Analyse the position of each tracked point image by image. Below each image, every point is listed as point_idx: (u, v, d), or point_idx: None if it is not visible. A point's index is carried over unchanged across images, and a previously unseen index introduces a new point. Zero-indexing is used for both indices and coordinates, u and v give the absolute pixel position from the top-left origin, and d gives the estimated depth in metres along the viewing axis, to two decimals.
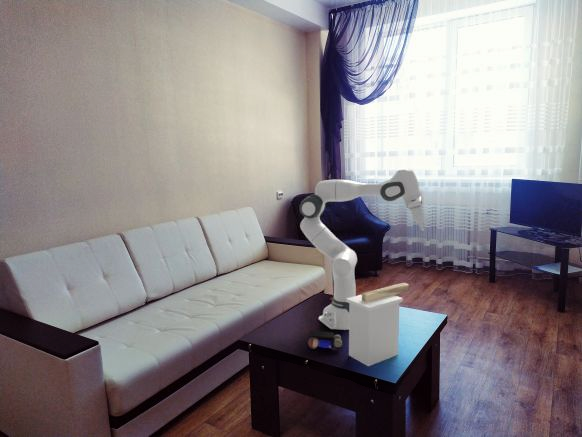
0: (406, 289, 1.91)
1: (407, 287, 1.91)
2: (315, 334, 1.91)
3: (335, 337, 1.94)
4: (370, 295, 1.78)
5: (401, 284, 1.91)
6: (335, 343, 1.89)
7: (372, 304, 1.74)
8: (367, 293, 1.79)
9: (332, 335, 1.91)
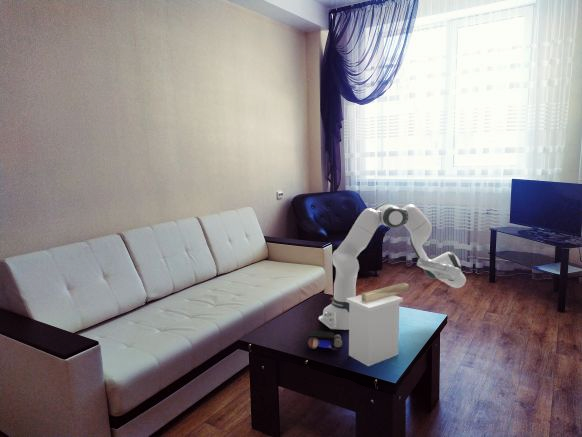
0: (406, 289, 1.91)
1: (407, 287, 1.91)
2: (315, 334, 1.91)
3: (335, 337, 1.94)
4: (370, 295, 1.78)
5: (401, 284, 1.91)
6: (335, 343, 1.89)
7: (372, 304, 1.74)
8: (367, 293, 1.79)
9: (332, 335, 1.91)
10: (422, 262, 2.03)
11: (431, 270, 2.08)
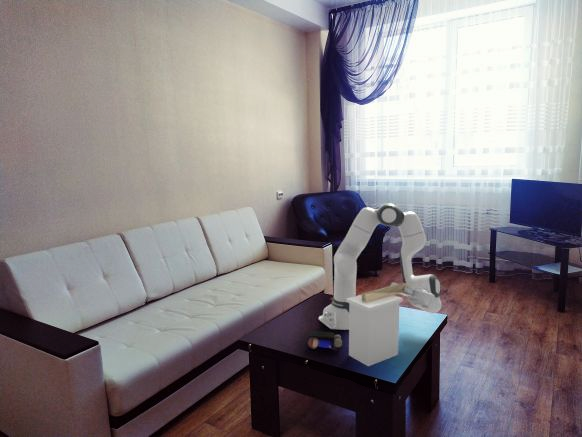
0: None
1: (407, 287, 1.91)
2: (315, 334, 1.91)
3: (335, 337, 1.94)
4: (370, 295, 1.78)
5: (401, 284, 1.91)
6: (335, 343, 1.89)
7: (372, 304, 1.74)
8: (367, 293, 1.79)
9: (332, 335, 1.91)
10: None
11: (404, 295, 1.99)
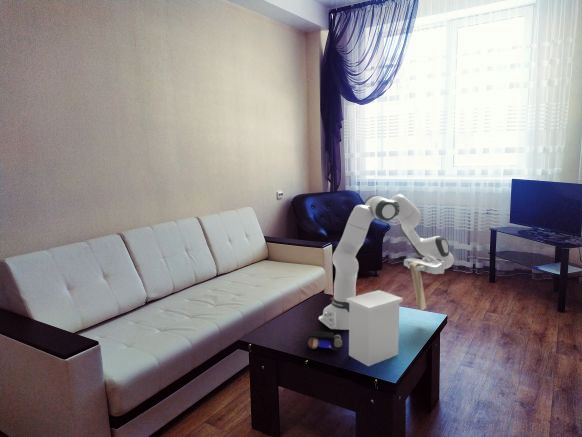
0: (418, 266, 2.10)
1: (416, 265, 2.10)
2: (315, 334, 1.91)
3: (335, 337, 1.94)
4: (422, 306, 2.16)
5: (413, 269, 2.11)
6: (335, 343, 1.89)
7: (372, 304, 1.74)
8: (419, 306, 2.17)
9: (332, 335, 1.91)
10: None
11: None
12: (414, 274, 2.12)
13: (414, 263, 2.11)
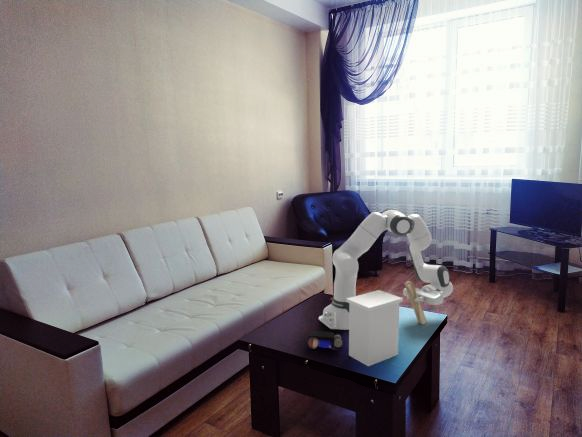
0: (412, 285, 2.10)
1: (411, 285, 2.09)
2: (315, 334, 1.91)
3: (335, 337, 1.94)
4: (422, 320, 2.17)
5: (407, 289, 2.11)
6: (335, 343, 1.89)
7: (372, 304, 1.74)
8: (419, 321, 2.19)
9: (332, 335, 1.91)
10: None
11: None
12: (409, 293, 2.11)
13: (408, 282, 2.10)
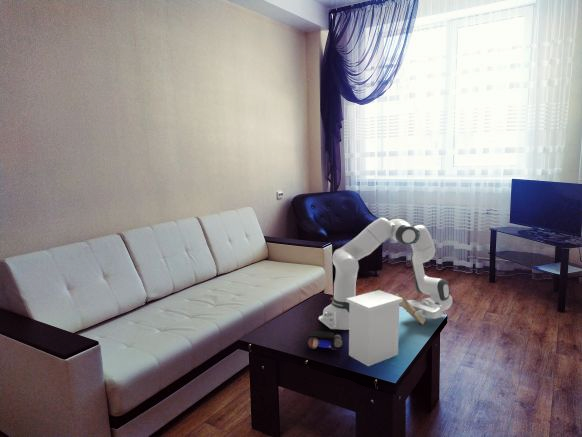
0: (401, 297, 2.06)
1: None
2: (315, 334, 1.91)
3: (335, 337, 1.94)
4: (421, 321, 2.17)
5: None
6: (335, 343, 1.89)
7: (372, 304, 1.74)
8: (419, 321, 2.18)
9: (332, 335, 1.91)
10: None
11: None
12: (401, 304, 2.09)
13: None
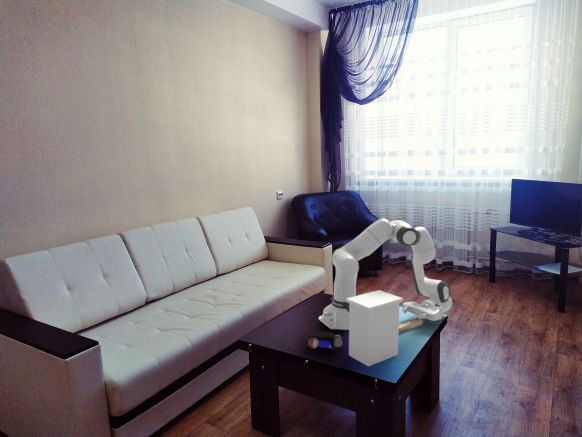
0: None
1: None
2: (315, 334, 1.91)
3: (335, 337, 1.94)
4: (420, 324, 2.17)
5: None
6: (335, 343, 1.89)
7: (372, 304, 1.74)
8: None
9: (332, 335, 1.91)
10: (406, 312, 2.18)
11: None
12: None
13: None
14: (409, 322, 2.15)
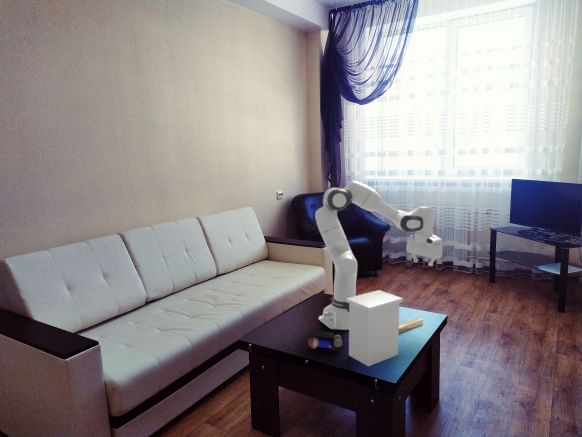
0: None
1: None
2: (315, 334, 1.91)
3: (335, 337, 1.94)
4: (420, 324, 2.17)
5: None
6: (335, 343, 1.89)
7: (372, 304, 1.74)
8: None
9: (332, 335, 1.91)
10: (417, 259, 2.21)
11: None
12: None
13: None
14: (410, 322, 2.15)
